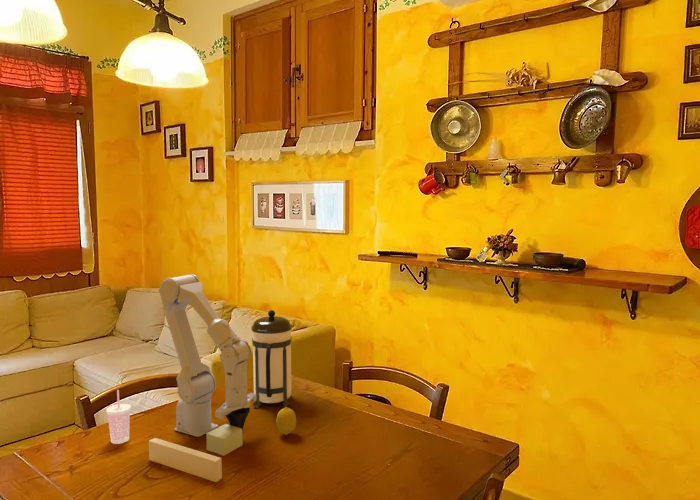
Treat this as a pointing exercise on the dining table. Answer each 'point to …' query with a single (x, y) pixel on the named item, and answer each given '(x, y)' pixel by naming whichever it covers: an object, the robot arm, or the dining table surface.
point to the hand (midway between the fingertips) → (237, 434)
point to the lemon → (286, 420)
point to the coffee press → (272, 359)
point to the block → (224, 439)
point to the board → (185, 459)
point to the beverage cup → (119, 421)
